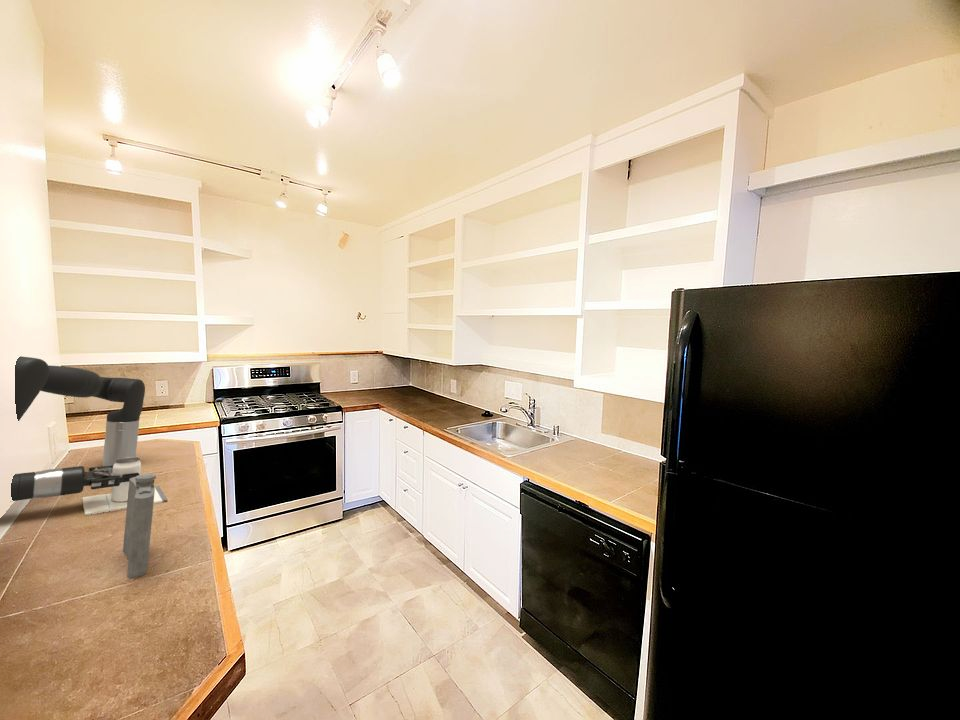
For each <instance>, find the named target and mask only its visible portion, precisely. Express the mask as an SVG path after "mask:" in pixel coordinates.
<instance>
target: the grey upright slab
mask: <svg viewBox="0 0 960 720" xmlns="http://www.w3.org/2000/svg"><path fill="white" fill-rule="evenodd" d="M156 477H157V475H156V474H155V473H143V474H142V473H141V475H138V476H136V477H133V478H130V479H129V490H128V500H127V509H126V513H125V522H124V523H125V524H124V535H123V544H122V546H123V547H122V552H123V554H124V555H125V556H126V558H127V560H128V562H127V563H128V564H127V574H126V577H127V578H130V579H135V578H140V577H142V576H144V575H145V574H146V573H147V571H148V566H149V565H148V563H149V553H150V546H151V545H150V544H151V543H150V542H151V534H152V523H153V513H154V512H153V511H154V504H153V503H154V493H155V485H154V484H155V480H156Z"/></svg>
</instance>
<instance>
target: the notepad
mask: <svg viewBox="0 0 960 720" xmlns="http://www.w3.org/2000/svg"><path fill="white" fill-rule="evenodd" d="M154 487H155V493H154V503H153V505H156V504H161V503H168V498H167V497H166V495H165V493H164V491H163V490H162V488H161V486H160V485H154ZM82 505H83V506H82V507H83V511H84V512H83V513H84V516H85V517H86V515H87V516H91V514H92V515H98V514H104V513H108V512H109V511H110V512H115V511H116V512H117V511H120V510H121V509H122V510H127V502H113V501H112V500H111V492H110V493H105V494H104V493H103V494H96V495H88V496H83V497H82ZM103 512H104V513H103ZM110 512H109V513H110ZM97 513H98V514H97Z"/></svg>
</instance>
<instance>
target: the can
mask: <svg viewBox="0 0 960 720" xmlns="http://www.w3.org/2000/svg"><path fill="white" fill-rule="evenodd" d="M140 460H141V459H140V458H139V457H137V456H136V457H129V458H122V459H118V460H116V461H115V464H114V465H113V471H112V473H114V474H119V475H120V474H121V475H123V474H130V473H139V475H142V462H141V461H140ZM114 481H115V480H114ZM110 488H111V489H110V490H111V491H110V493H111V500H112V501H113V502H127V500H128V490H129V482H122V483H121V484H120V485H119V486H114V487H110Z"/></svg>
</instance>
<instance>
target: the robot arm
mask: <svg viewBox="0 0 960 720" xmlns="http://www.w3.org/2000/svg"><path fill="white" fill-rule="evenodd" d="M19 356H20V357H19V358H18V359H17V361H16V365H15V404H16V414H17V419H18V421H19V422H20V420H21V418H22V417H23V416H24V415H25V413H26V412H27V411H28V410H29V408H30V407H31V405H32V404H33V402H34V401H35V399H36V398H37V397H38V395H39V394H40V392H44V393H48V394H53V395H59V396H65V397H71V398H91V397H93V398H97V399H103V400H105V401H109V402H113V403H123V406H122V408H121V409H117V410H113V411H110V412H108V413H107V414H106V423H105V433H104V434H105V435H104V445H103V455H102V466H95V467H94V466H93V467H88V471H85V467H84V466H82V465H80V466H70V467H69V466H68V467H60V468H51V469H50V468H49V469H44V470H40V471H38V470H37V471H29V472H22V473H21V472H20V473H14V474H15V475H14V476H13V479H12V483H11V497H12V500H13V501H12V502H17V501H24V500H30V499H46V498H52V497H59V496H60V497H61V496H67V495H75V494H80V493H82V492H83V491H84V487H86V486H87V487H90V490H99V489H105V488H111V487H114V486H119V485H120V484H121V483H122V482H129V479H130V478H133V477H136V476H138V475H139V473H130V474H123V475H121V474H120V475H119V474H114V473H112V471H113V465H114V464H115V461H116V460H118V459H122V458H129V457H136V458H137V450H138V449H137V447H138V440H139V439H138V438H139V428H140V417H141V414H142V412H143V406H144V399H145V394H146V385H145V383H144V380H141V379H139V378H127V377H106V376H105V377H104V376H100V375H99V374H98V373H96V372H94V371H92V370H88V369H83V368H80V367H79V368H78V367H71V366H63V365H62V366H61V365H49V364H48V363H47V362H46V361H45V360H44V359H41V358H38V357H30V356H29V357H28V356H21V355H19ZM114 480H115V481H114Z"/></svg>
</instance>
